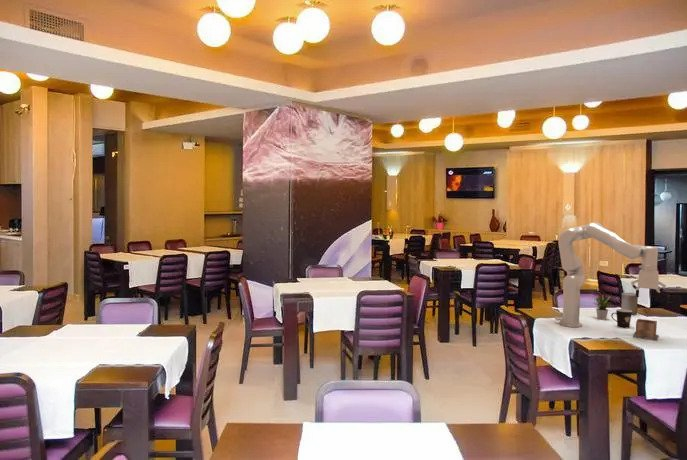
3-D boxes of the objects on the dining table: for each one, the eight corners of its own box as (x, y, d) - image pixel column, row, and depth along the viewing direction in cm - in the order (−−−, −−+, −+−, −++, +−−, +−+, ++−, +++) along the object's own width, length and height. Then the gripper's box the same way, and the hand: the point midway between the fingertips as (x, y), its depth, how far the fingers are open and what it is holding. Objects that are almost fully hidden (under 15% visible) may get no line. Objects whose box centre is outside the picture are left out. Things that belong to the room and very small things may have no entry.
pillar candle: (637, 313, 375) (638, 291, 374) (636, 315, 367) (637, 293, 366) (621, 311, 380) (622, 290, 380) (620, 314, 372) (620, 292, 371)
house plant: (588, 319, 353) (589, 294, 352) (587, 315, 366) (588, 291, 365) (612, 322, 348) (613, 296, 347) (611, 317, 361) (612, 292, 360)
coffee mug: (629, 325, 338) (630, 309, 338) (632, 329, 330) (633, 312, 330) (609, 324, 342) (609, 308, 341) (610, 327, 334) (611, 310, 333)
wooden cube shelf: (632, 337, 310) (633, 321, 310) (634, 333, 320) (635, 318, 320) (657, 340, 304) (658, 325, 303) (658, 336, 314) (659, 321, 313)
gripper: (631, 267, 311) (629, 297, 312) (666, 270, 302) (664, 301, 303) (632, 266, 317) (630, 295, 319) (667, 268, 308) (665, 299, 309)
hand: (647, 298), depth 311 cm, fingers open, 9 cm apart
